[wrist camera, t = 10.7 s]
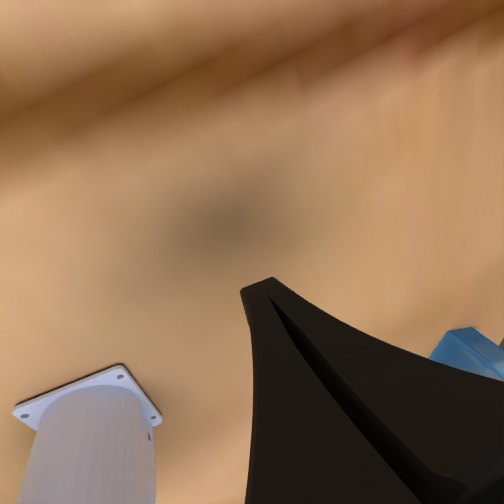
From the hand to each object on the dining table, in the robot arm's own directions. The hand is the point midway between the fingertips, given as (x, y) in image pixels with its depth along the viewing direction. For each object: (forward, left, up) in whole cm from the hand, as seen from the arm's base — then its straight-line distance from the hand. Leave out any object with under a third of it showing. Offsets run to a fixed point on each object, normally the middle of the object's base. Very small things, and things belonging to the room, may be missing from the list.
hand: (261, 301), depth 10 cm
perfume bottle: (-34, -31, -10) cm, 47 cm away
